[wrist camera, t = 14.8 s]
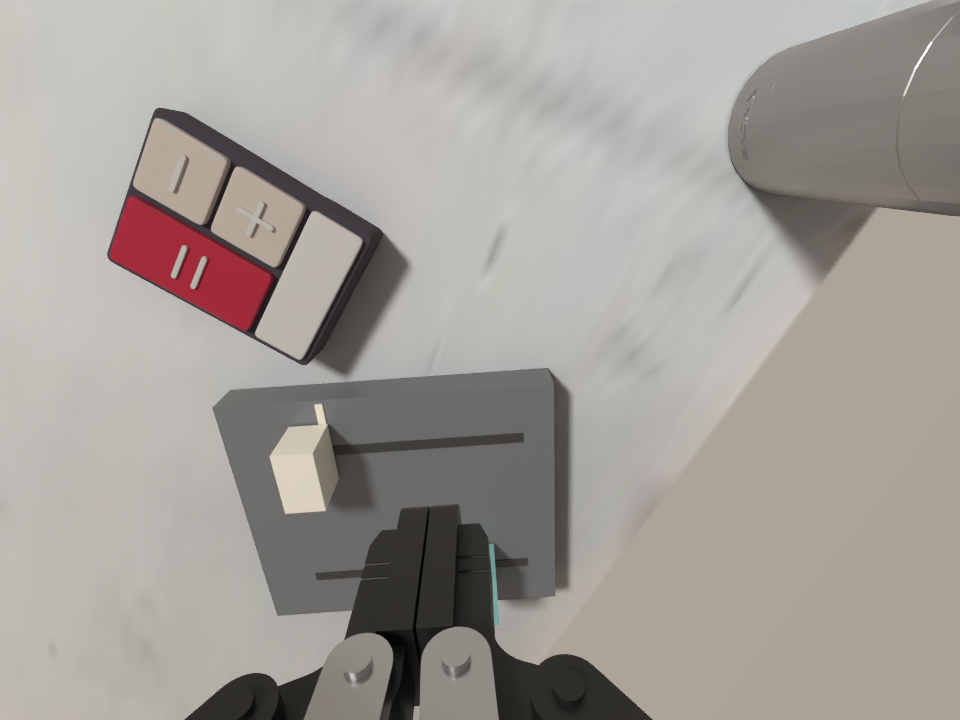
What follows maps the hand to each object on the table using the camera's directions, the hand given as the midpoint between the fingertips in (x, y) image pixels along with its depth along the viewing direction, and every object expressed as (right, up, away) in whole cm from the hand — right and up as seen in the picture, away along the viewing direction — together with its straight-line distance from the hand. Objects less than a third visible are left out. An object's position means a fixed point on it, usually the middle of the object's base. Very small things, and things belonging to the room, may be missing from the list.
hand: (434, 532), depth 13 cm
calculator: (-15, +13, +23) cm, 31 cm away
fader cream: (-12, -3, +26) cm, 28 cm away
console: (-6, -7, +31) cm, 32 cm away
